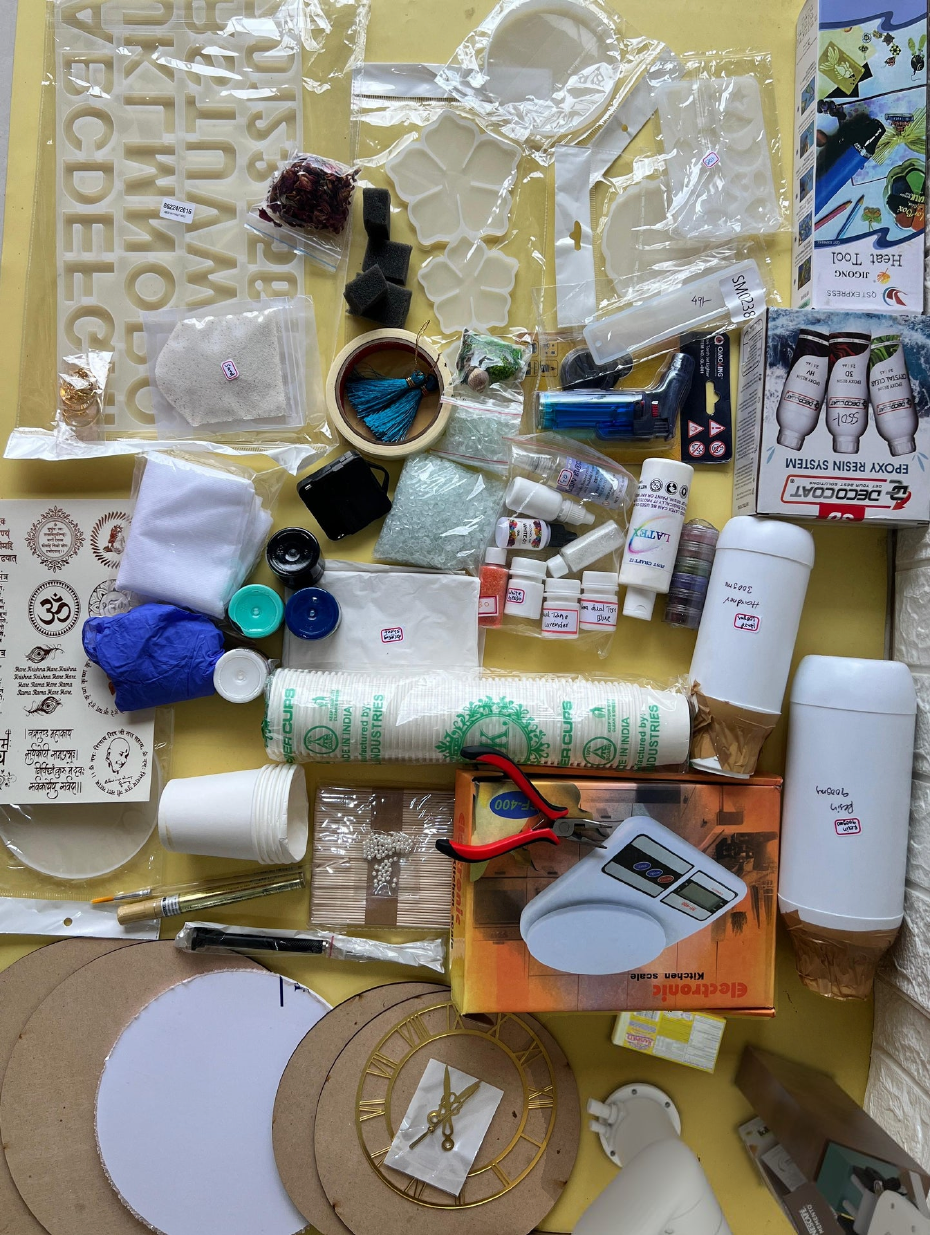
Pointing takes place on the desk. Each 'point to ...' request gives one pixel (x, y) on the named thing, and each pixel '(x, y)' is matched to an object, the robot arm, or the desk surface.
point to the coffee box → (788, 1183)
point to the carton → (851, 1184)
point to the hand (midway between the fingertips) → (857, 1197)
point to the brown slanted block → (814, 1116)
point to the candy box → (672, 1036)
